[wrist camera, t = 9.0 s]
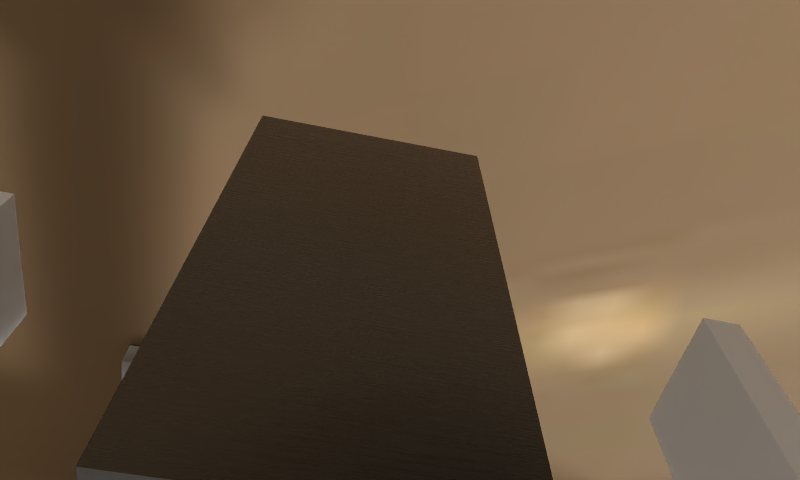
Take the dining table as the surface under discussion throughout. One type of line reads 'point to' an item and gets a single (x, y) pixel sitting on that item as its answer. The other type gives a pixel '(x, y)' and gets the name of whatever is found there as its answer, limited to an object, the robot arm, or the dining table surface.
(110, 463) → the grey mallet
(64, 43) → the dining table surface
